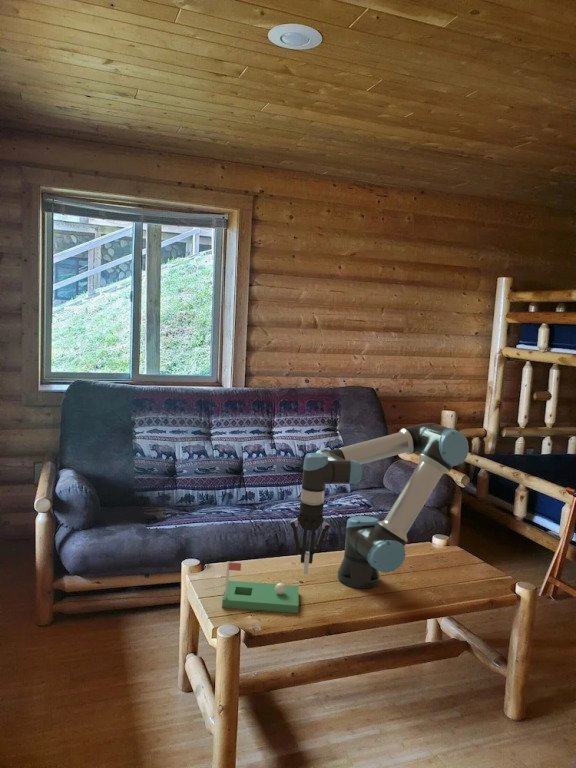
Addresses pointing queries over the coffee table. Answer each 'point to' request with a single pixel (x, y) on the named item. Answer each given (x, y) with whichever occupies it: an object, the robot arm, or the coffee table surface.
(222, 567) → the coffee table surface
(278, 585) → the ball
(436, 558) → the coffee table surface
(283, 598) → the green
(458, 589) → the coffee table surface
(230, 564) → the pin
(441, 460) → the robot arm
